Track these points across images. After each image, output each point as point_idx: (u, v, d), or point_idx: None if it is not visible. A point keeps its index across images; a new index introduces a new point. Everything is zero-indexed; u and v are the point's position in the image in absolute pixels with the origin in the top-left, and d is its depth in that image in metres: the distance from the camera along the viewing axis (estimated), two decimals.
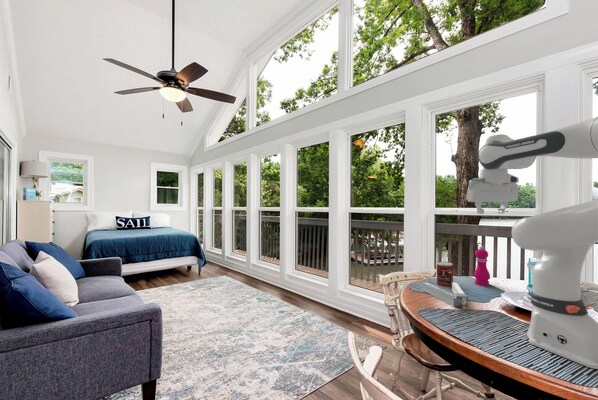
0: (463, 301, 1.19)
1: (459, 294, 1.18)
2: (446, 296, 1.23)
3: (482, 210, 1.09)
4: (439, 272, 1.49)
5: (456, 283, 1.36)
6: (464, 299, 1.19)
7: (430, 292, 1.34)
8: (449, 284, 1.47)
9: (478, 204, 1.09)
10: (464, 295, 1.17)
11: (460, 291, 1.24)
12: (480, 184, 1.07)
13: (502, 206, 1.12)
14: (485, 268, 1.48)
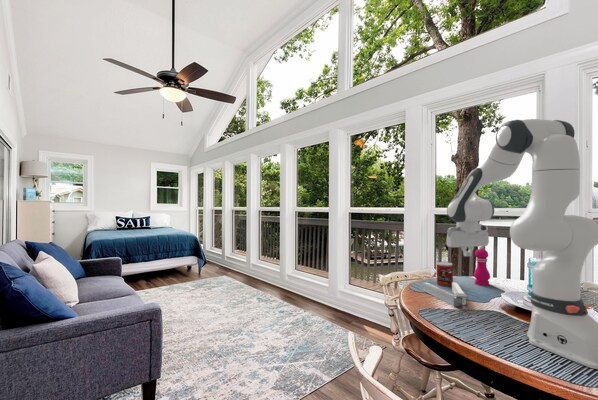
0: (463, 301, 1.19)
1: (459, 294, 1.18)
2: (446, 296, 1.23)
3: (467, 253, 1.33)
4: (439, 272, 1.49)
5: (456, 283, 1.36)
6: (464, 299, 1.19)
7: (430, 292, 1.34)
8: (449, 284, 1.47)
9: (463, 248, 1.33)
10: (464, 295, 1.17)
11: (460, 291, 1.24)
12: (456, 232, 1.31)
13: (469, 250, 1.34)
14: (485, 268, 1.48)
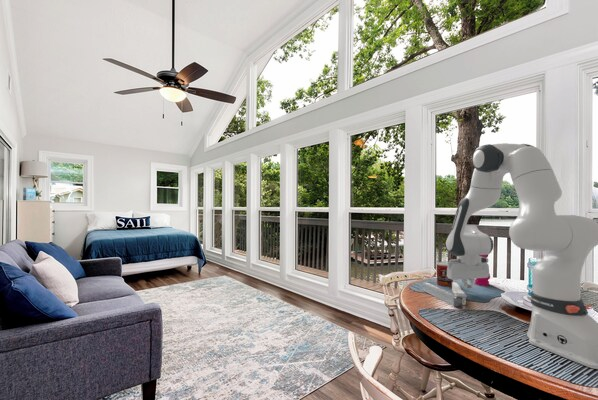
0: (463, 301, 1.19)
1: (459, 294, 1.18)
2: (446, 296, 1.23)
3: (468, 285, 1.33)
4: (439, 272, 1.49)
5: (456, 283, 1.36)
6: (464, 299, 1.19)
7: (430, 292, 1.34)
8: (449, 284, 1.47)
9: (464, 280, 1.33)
10: (464, 295, 1.17)
11: (460, 291, 1.24)
12: (457, 265, 1.31)
13: (470, 281, 1.34)
14: None
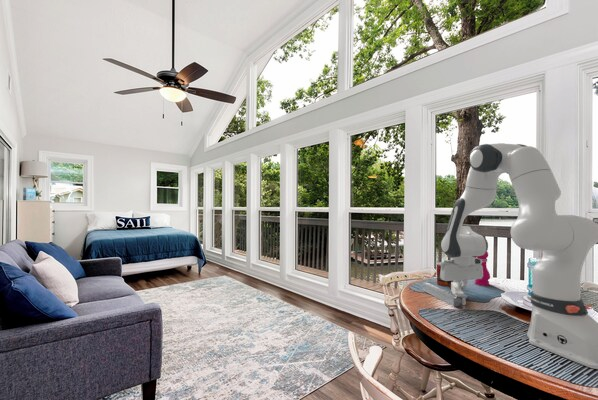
0: (463, 301, 1.19)
1: (459, 294, 1.18)
2: (446, 296, 1.23)
3: (462, 286, 1.32)
4: (439, 272, 1.49)
5: (455, 283, 1.37)
6: (464, 299, 1.19)
7: (430, 292, 1.34)
8: (449, 284, 1.47)
9: (458, 281, 1.32)
10: (464, 295, 1.17)
11: (460, 291, 1.24)
12: (450, 266, 1.30)
13: (463, 283, 1.33)
14: (485, 268, 1.48)
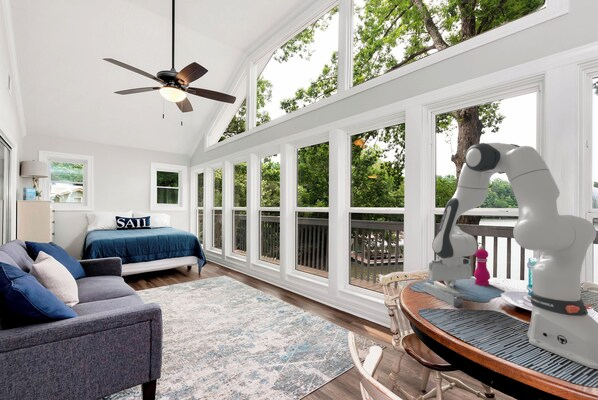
0: None
1: (458, 294, 1.19)
2: (446, 296, 1.23)
3: (450, 286, 1.31)
4: None
5: (438, 282, 1.39)
6: None
7: (430, 292, 1.34)
8: (449, 284, 1.47)
9: (446, 281, 1.31)
10: (463, 294, 1.18)
11: (453, 290, 1.25)
12: (438, 266, 1.29)
13: (451, 283, 1.33)
14: (485, 268, 1.48)
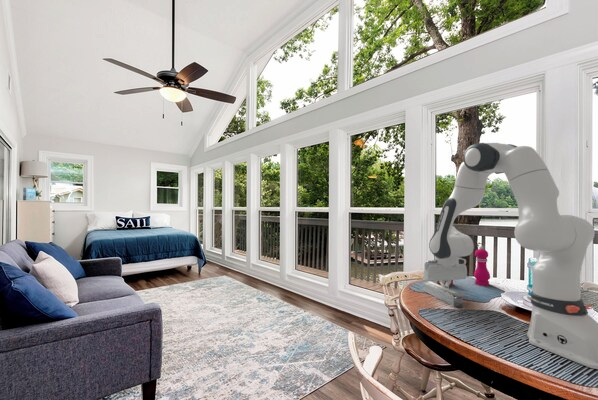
0: None
1: (458, 294, 1.19)
2: (446, 296, 1.23)
3: (445, 287, 1.31)
4: None
5: (432, 282, 1.39)
6: None
7: (430, 292, 1.34)
8: None
9: (441, 282, 1.31)
10: (463, 294, 1.18)
11: (450, 290, 1.26)
12: (433, 266, 1.29)
13: (447, 283, 1.32)
14: (485, 268, 1.48)
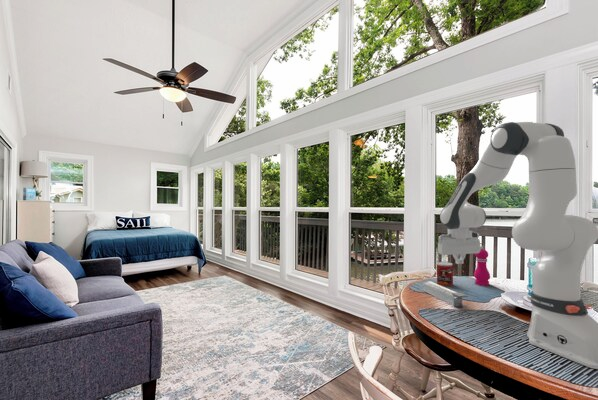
0: None
1: (458, 294, 1.19)
2: (446, 296, 1.23)
3: (459, 261, 1.31)
4: (439, 272, 1.49)
5: (432, 282, 1.39)
6: None
7: (430, 292, 1.34)
8: (449, 284, 1.47)
9: (455, 256, 1.31)
10: (463, 294, 1.18)
11: (450, 290, 1.26)
12: (447, 240, 1.30)
13: (461, 257, 1.33)
14: (485, 268, 1.48)
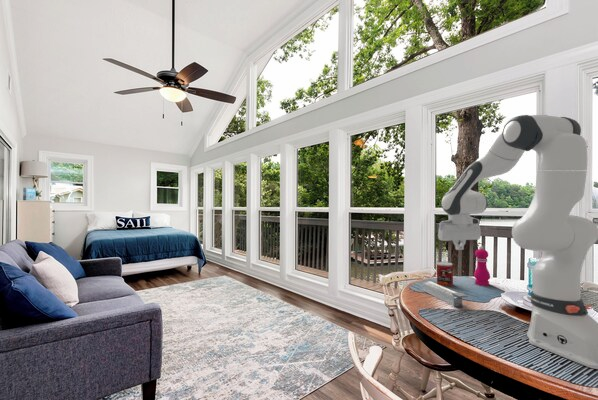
0: None
1: (458, 294, 1.19)
2: (446, 296, 1.23)
3: (459, 247, 1.32)
4: (439, 272, 1.49)
5: (432, 282, 1.39)
6: None
7: (430, 292, 1.34)
8: (449, 284, 1.47)
9: (455, 242, 1.32)
10: (463, 294, 1.18)
11: (450, 290, 1.26)
12: (448, 226, 1.30)
13: (461, 243, 1.34)
14: (485, 268, 1.48)
